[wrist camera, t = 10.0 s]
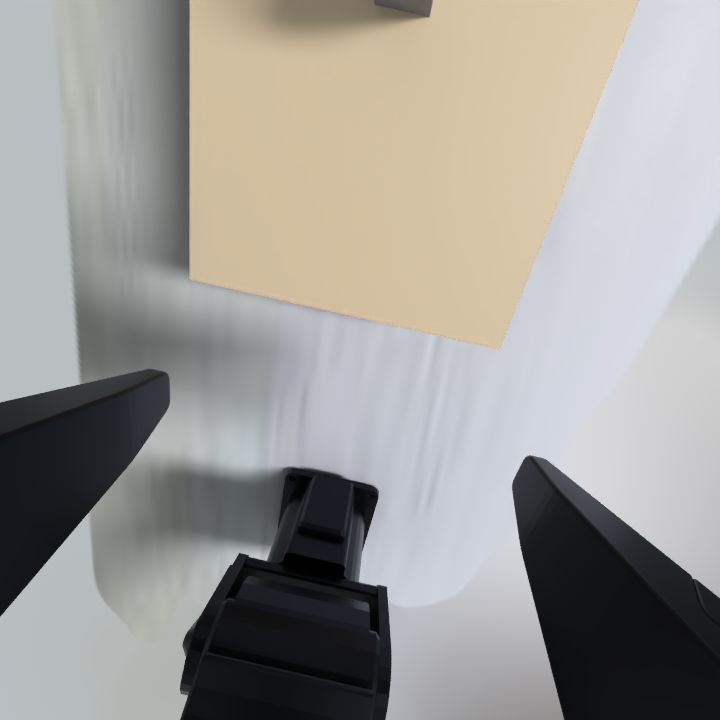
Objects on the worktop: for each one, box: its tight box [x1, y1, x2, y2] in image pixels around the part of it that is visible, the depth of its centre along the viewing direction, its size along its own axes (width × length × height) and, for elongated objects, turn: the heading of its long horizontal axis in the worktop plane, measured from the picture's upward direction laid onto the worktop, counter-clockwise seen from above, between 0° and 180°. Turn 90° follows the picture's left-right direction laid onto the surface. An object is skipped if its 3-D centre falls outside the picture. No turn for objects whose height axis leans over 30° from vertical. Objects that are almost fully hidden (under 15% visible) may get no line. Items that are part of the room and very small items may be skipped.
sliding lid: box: [190, 0, 639, 349], centre depth 10 cm, size 12×12×5 cm
